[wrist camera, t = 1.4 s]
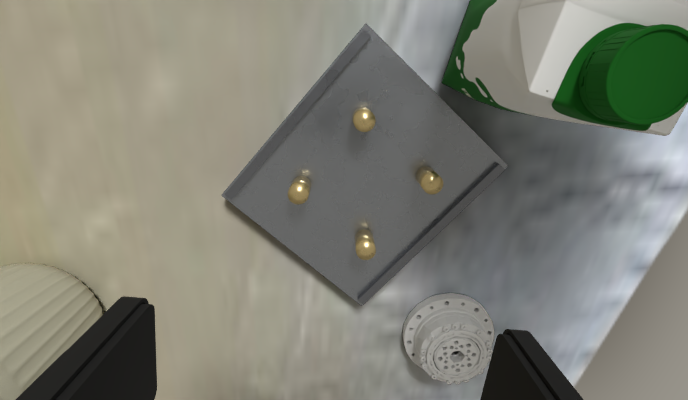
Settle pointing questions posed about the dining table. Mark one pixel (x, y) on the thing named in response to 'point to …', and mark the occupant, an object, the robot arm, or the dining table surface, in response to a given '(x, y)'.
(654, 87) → the milk carton
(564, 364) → the dining table surface
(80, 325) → the canister
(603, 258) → the dining table surface
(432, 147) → the plate
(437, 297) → the mechanical component
